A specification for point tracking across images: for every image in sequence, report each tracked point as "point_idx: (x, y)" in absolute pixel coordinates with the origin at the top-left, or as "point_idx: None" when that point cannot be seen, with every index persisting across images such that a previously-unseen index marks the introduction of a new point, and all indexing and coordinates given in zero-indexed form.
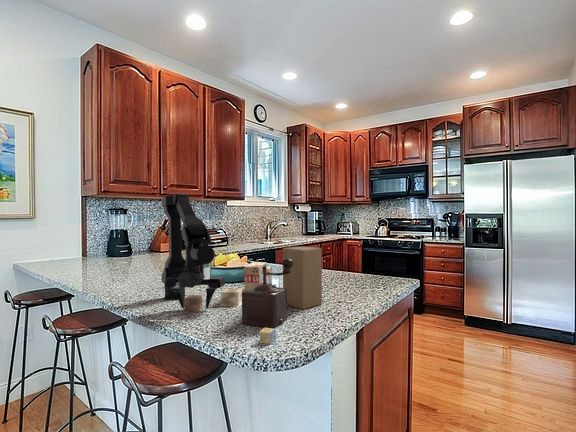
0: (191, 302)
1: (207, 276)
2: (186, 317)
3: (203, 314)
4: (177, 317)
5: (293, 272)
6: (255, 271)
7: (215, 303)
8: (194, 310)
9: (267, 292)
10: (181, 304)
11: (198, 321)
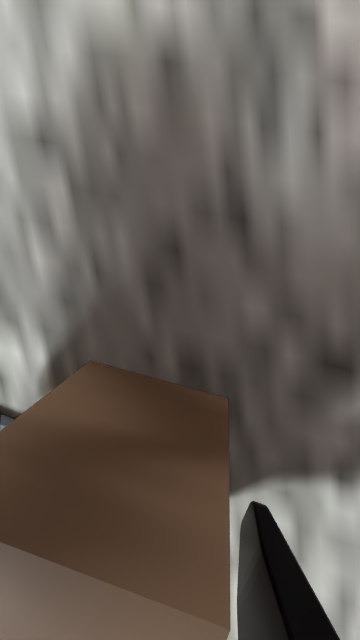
0: (98, 474)
1: None
2: (189, 242)
3: (35, 319)
4: (298, 264)
5: None
6: None
7: None
8: (110, 385)
9: None
10: (280, 551)
11: (24, 34)
